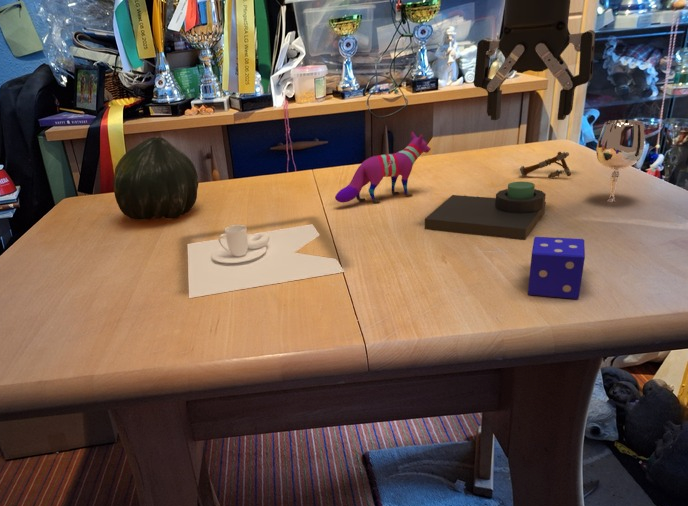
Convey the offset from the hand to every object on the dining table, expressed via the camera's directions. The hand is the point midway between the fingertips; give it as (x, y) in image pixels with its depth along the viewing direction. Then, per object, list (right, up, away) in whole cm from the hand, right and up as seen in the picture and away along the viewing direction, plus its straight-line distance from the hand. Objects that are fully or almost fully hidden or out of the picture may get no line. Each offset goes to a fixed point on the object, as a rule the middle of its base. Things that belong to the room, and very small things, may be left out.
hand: (527, 119), depth 76 cm
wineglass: (+15, -11, +7) cm, 20 cm away
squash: (-55, -9, +26) cm, 62 cm away
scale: (-3, -13, +7) cm, 15 cm away
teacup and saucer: (-37, -19, +3) cm, 41 cm away
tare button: (+1, -10, +5) cm, 11 cm away
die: (-3, -23, -14) cm, 27 cm away
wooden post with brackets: (+13, -3, +23) cm, 27 cm away
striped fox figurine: (-16, -7, +21) cm, 27 cm away
